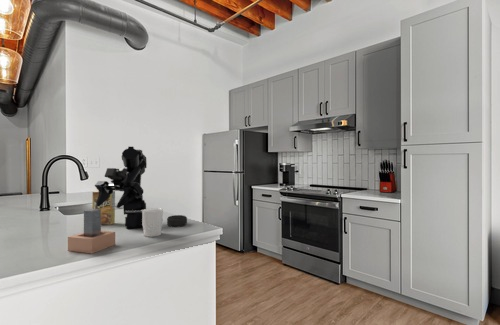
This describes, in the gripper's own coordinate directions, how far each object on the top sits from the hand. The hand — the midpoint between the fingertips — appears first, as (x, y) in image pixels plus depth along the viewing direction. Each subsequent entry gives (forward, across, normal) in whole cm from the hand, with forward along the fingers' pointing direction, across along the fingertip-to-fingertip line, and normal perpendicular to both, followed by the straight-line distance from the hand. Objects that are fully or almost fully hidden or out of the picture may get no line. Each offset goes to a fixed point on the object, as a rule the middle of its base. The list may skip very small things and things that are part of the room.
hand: (107, 206), depth 102 cm
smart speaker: (-13, +9, +32) cm, 36 cm away
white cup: (0, +9, +19) cm, 21 cm away
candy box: (-7, -25, +26) cm, 37 cm away
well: (+14, 0, +4) cm, 15 cm away
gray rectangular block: (+14, 0, +4) cm, 14 cm away
